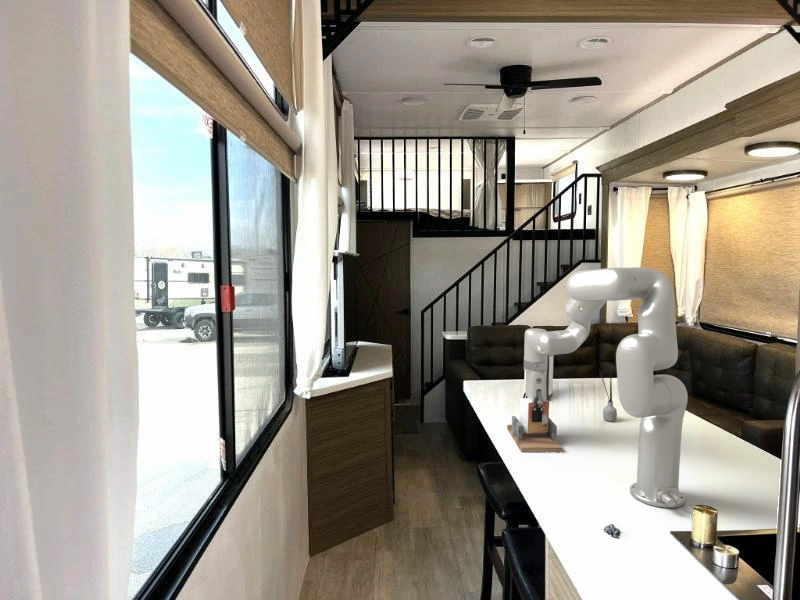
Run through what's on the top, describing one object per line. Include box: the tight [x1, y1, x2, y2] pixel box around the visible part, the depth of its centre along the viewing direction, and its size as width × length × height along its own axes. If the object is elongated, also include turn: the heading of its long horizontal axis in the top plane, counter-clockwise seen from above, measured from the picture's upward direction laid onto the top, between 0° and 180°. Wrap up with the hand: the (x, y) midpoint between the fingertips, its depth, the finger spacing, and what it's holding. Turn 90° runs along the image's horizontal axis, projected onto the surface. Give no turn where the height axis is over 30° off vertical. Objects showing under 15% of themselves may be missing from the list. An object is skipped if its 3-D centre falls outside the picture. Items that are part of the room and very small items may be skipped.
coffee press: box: [522, 355, 554, 402], centre depth 220 cm, size 17×16×30 cm
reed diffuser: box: [598, 367, 618, 422], centre depth 190 cm, size 10×7×20 cm
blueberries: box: [603, 523, 621, 540], centre depth 112 cm, size 7×8×2 cm
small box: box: [519, 398, 550, 433], centre depth 169 cm, size 8×6×10 cm
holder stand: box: [506, 415, 564, 454], centre depth 169 cm, size 22×13×6 cm, turn 179°
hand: (533, 417), depth 169 cm, fingers closed on small box, 6 cm apart
